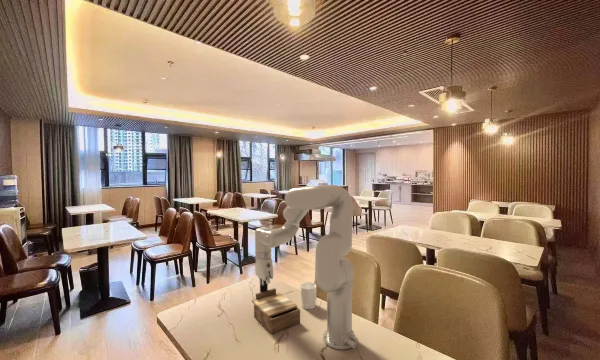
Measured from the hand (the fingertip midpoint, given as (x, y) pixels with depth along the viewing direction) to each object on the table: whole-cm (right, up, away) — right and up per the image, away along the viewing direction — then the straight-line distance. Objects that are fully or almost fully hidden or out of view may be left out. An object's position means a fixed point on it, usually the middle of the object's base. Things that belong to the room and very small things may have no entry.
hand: (263, 292), depth 128 cm
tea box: (+7, -8, -10) cm, 14 cm away
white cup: (+21, -8, +3) cm, 23 cm away
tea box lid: (+6, -2, -8) cm, 10 cm away
